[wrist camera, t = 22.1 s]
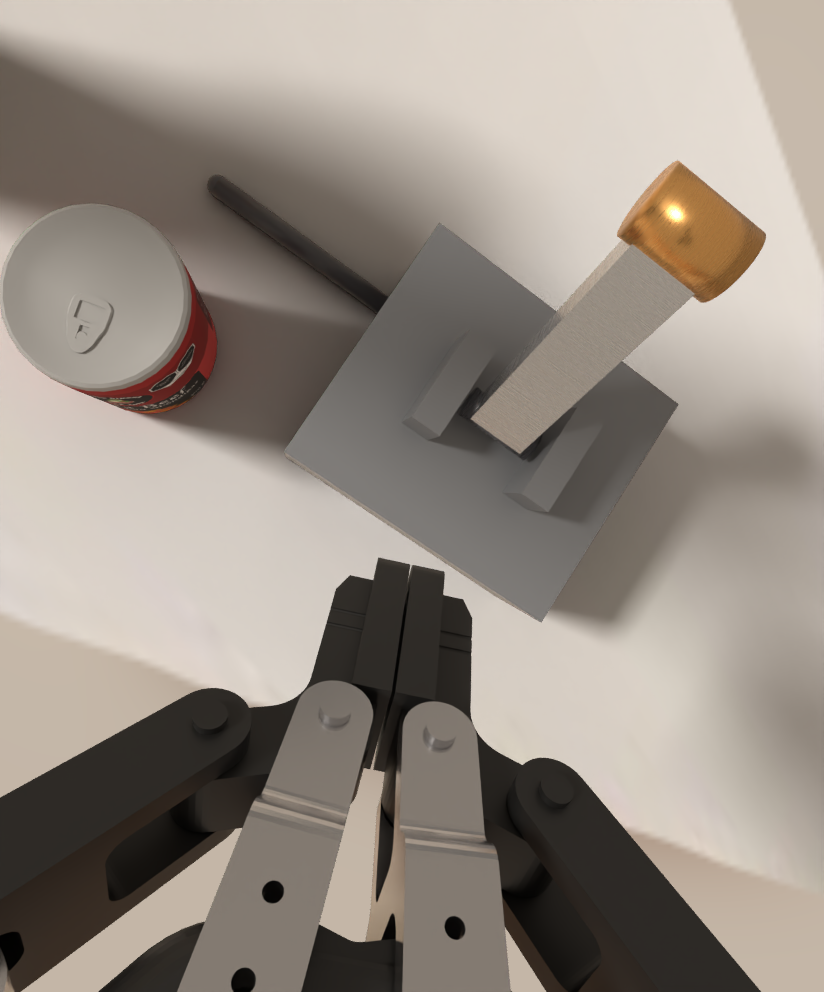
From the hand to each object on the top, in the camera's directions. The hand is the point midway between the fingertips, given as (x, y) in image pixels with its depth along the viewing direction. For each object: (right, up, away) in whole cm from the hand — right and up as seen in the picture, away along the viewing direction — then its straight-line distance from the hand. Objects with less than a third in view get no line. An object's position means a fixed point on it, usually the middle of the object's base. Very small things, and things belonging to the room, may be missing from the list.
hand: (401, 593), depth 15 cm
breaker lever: (+5, +6, +18) cm, 19 cm away
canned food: (-15, +11, +24) cm, 31 cm away
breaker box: (-2, +9, +26) cm, 28 cm away
